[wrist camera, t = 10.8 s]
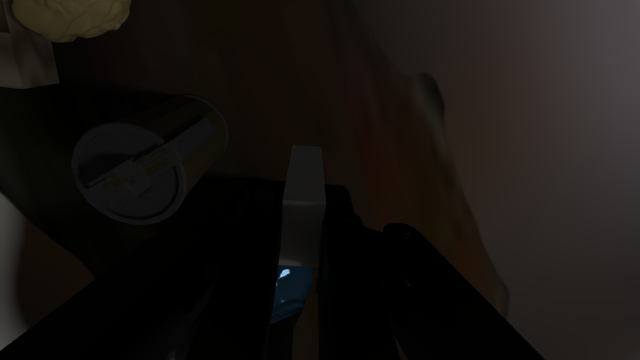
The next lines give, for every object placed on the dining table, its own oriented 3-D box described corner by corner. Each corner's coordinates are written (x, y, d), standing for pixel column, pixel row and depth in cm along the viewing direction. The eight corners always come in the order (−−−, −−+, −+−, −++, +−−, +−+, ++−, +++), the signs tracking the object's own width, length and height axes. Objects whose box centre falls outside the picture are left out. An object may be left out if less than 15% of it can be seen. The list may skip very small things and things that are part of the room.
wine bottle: (213, 204, 51) (97, 394, 23) (284, 163, 48) (248, 320, 21) (263, 264, 56) (215, 482, 28) (329, 230, 53) (349, 430, 25)
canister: (184, 177, 49) (108, 257, 30) (139, 116, 45) (20, 166, 27) (245, 144, 47) (202, 208, 29) (203, 79, 43) (122, 104, 25)
